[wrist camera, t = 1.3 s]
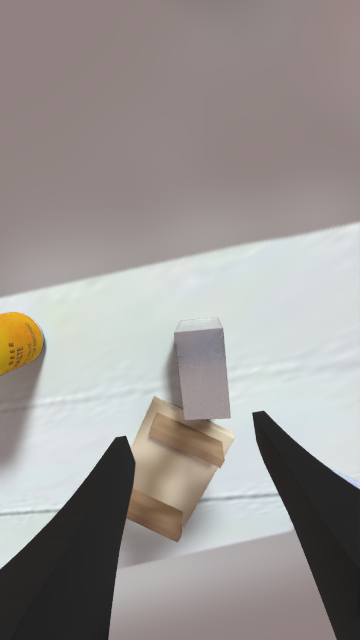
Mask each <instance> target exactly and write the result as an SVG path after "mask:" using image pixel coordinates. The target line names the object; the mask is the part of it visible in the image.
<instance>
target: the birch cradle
mask: <svg viewBox="0 0 360 640" xmlns="http://www.w3.org/2000/svg"><path fill="white" fill-rule="evenodd" d="M234 439H235V438H234V433H233V432H231V431H229V430H227V429H225V428H223V427H221V426H218V425H216V424H214V423H212V422H210V421H207V420H205V419H196V420H185V418H184V410H183V409H181V408H179V407H177V406H175V405H173V404H170V403H168V402H166V401H164V400H162V399H159V398H157V397H155V396H154V398H153V400H152V403H151V405H150V407H149V409H148V411H147V414H146V416H145V418H144V420H143V423H142V425H141V427H140V429H139V431H138V434H137V436H136V438H135V440H134V443H133V445H132V447H131V451H132V454H133V456H134V459H135V462H136V466H135V476H134V484H133V489H132V494H131V498H130V503H129V507H128V512H127V516H126V518H128V519H130V520H132V521H134V522H136V523H138V524H140V525H142V526H144V527H146V528H149V529H151V530H153V531H155V532H157V533H159V534H161V535H163V536H165V537H167V538H169V539H172V540H174V541H176V542H178V541H179V539H180V537H181V532H182V526H183V527H184V526H185V525H186V523H187V521H188V519H189V518H190V516H191V514H192V512H193V511H194V509H195V507H196V505H197V504H198V502H199V500H200V498H201V497H202V495H203V493H204V491H205V490H206V488H207V486H208V484H209V483H210V481H211V479H212V477H213V476H214V474H215V472H216V470H217V469H218V467H219V468H221V466H222V464H223V462H224V461H225V460H224V456H225V455H226V453H227V451H228V449H229V448H230V446H231V444H232V442H233V441H234Z"/></svg>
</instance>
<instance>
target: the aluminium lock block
mask: <svg viewBox="0 0 360 640" xmlns="http://www.w3.org/2000/svg"><path fill="white" fill-rule="evenodd" d="M174 337H175V345H176V353H177V361H178V369H179V377H180V385H181V393H182V402H183V410H184V418H185V420H196V419H224V418H231V416H230V404H229V392H228V380H227V369H226V357H225V345H224V333H223V327H222V324H221V322H220V320H219V318H218V317H215V318H204V319H194V320H183V321H180V323H179V325H178V326H177V328H176V330H175V331H174Z"/></svg>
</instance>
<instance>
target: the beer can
mask: <svg viewBox="0 0 360 640" xmlns="http://www.w3.org/2000/svg"><path fill="white" fill-rule="evenodd" d="M43 343H44V336H43V332H42V330H41V328H40V326H39V325H38V324H37V322H35V321H34V320H33V319H31V318H30V317H28V316H27V315H25V314H22V313H19V312H9V313H3V314H0V376H1V375H3V374H5V373H7V372H9V371H12V370H14V369H16V368H18V367H20V366H23V365H25V364H27V363H29V362H31V361H33V360H35V359H36V358H37V357H38V356H39V354H40V352H41V350H42V346H43Z"/></svg>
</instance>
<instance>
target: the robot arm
mask: <svg viewBox="0 0 360 640" xmlns="http://www.w3.org/2000/svg"><path fill="white" fill-rule="evenodd" d="M252 414H253V421H254V428H255V435H256V441H257V444H258V447H259V450H260V453H261V456H262V458H263V461H264V463H265V465H266V468H267V470H268V472H269V474H270V476H271V478H272V480H273V482H274V484H275V486H276V489H277V491H278V493H279V495H280V497H281V499H282V501H283V503H284V505H285V507H286V509H287V512H288V514H289V516H290V518H291V521H292V523H293V525H294V528H295V530H296V533H297V535H298V538H299V540H300V543H301V546H302V548H303V551H304V553H305V556H306V559H307V561H308V564H309V566H310V569H311V572H312V574H313V577H314V579H315V582H316V585H317V587H318V590H319V593H320V595H321V598H322V601H323V603H324V606H325V609H326V611H327V614H328V617H329V619H330V622H331V625H332V627H333V630H334V633H335V636H336V639H337V640H360V483H359V482H357V481H355V480H352V479H350V478H348V477H346V476H344V475H341V474H339V473H337V472H335V471H333V470H331V469H329V468H328V467H327V466H325V465H324V464H323V463H321V462H320V461H319V460H317V459H316V458H315V457H314V456H312V455H311V454H310V453H309V452H308V451H306V450H305V449H304V448H303V447H302V446H300V445H299V444H298V443H297V442H296V441H295V440H294V439H292V438H291V437H290V436H289V435H288V434H287V433H286V432H285V431H284V430H283V429H282V428H281V427H280V426H279V425H277V424H276V423H275V422H274V421H273V419H272V418H271V417H270V416H269V415H268V414H267V413H266V412H265V411H259V412H254V413H252ZM135 466H136V462H135V459H134V456H133V454H132V451H131V448H130V445H129V443H128V440H127V437H126V436H122V437H116V438H115V439H114V441H113V442H112V443H111V445H110V446H109V448H108V449H107V450H106V452H105V453H104V455H103V456H102V458H101V459H100V460H99V462H98V463H97V464H96V466H95V467H94V469H93V470H92V471H91V473H90V474H89V475H88V477H87V478H86V479H85V480H84V482H83V483H82V484H81V486H80V487H79V488H78V489H77V491H76V492H75V493H74V494H73V496H72V497H71V498H70V499H69V500H68V502H67V503H66V504H65V505H64V506H63V507H62V509H61V510H60V511H59V512H58V513H57V514H56V515H55V516H54V517H53V519H52V520H51V521H50V522H49V523H48V524H47V525H46V526H45V527H44V528H43V529H42V530H41V531H40V532H39V533H38V534H37V535H36V536H35V537H34V538H33V539H32V540H31V541H30V542H29V543H28V544H27V545H26V546H25V547H24V548H23V549H22V550H21V551H20V552H19V553H18V554H17V555H16V556H14V557H13V558H12V559H11V560H10V561H9V562H8V563H7V564H6V565H5V566H4V567H2V568H1V569H0V640H108V636H109V627H110V618H111V609H112V601H113V593H114V586H115V578H116V571H117V564H118V557H119V550H120V545H121V539H122V534H123V530H124V525H125V521H126V516H127V512H128V507H129V503H130V498H131V494H132V489H133V484H134V476H135Z"/></svg>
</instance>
